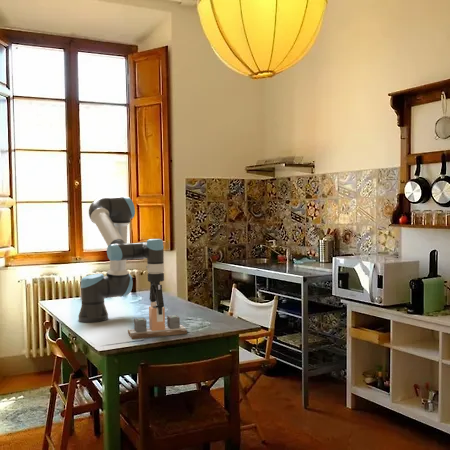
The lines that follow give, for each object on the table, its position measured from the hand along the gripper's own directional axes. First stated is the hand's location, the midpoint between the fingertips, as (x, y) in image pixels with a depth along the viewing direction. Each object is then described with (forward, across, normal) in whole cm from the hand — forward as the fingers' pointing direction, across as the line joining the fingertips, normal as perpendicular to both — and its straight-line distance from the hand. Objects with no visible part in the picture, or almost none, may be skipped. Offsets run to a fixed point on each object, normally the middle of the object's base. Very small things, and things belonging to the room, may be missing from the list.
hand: (156, 318), depth 244 cm
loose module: (+5, 0, 0) cm, 5 cm away
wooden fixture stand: (+7, 0, 0) cm, 7 cm away
